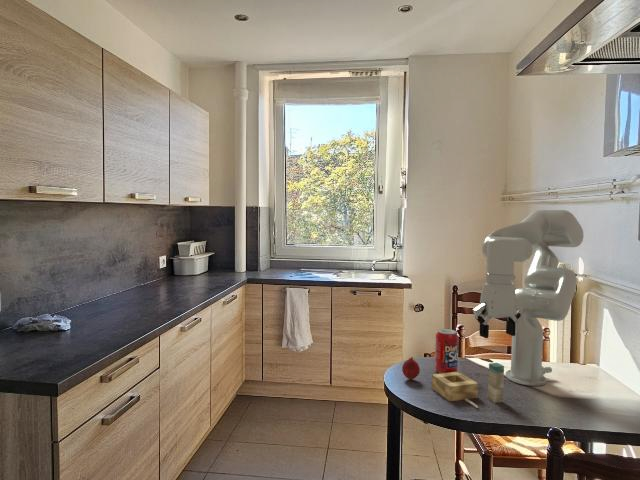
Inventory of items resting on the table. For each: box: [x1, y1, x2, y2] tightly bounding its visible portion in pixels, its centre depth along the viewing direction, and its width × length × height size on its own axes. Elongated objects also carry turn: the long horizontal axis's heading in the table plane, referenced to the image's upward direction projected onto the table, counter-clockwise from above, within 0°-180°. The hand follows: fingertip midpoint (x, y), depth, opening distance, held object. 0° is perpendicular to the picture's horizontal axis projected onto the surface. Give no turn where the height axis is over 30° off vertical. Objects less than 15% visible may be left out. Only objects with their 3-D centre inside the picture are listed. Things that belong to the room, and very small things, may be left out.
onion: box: [401, 356, 421, 381], centre depth 141 cm, size 6×6×8 cm
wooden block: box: [430, 371, 479, 402], centre depth 131 cm, size 10×10×4 cm
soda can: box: [434, 328, 460, 374], centre depth 149 cm, size 8×8×15 cm
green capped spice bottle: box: [487, 362, 505, 404], centre depth 126 cm, size 3×3×11 cm
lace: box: [464, 398, 479, 409], centre depth 123 cm, size 5×1×1 cm, turn 17°
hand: (497, 335), depth 125 cm, fingers open, 9 cm apart
